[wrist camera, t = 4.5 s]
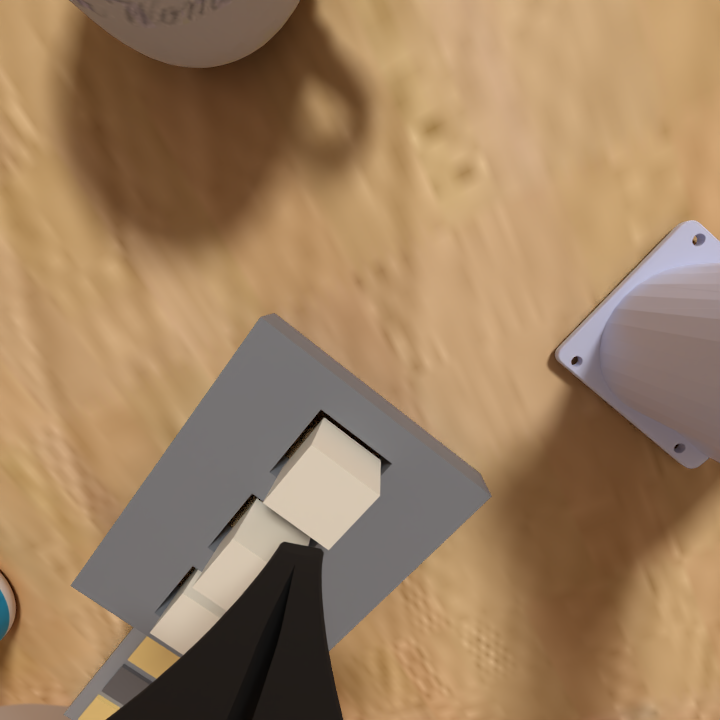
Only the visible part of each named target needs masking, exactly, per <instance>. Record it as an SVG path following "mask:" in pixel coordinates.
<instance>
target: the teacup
mask: <svg viewBox="0 0 720 720" xmlns="http://www.w3.org/2000/svg"><path fill="white" fill-rule="evenodd" d="M70 1H71V2H72V3H73V4H74V5H75V6H76V7H78V8H79V9H80V10H81V11H82V12H83V13H85V14H86V15H87V16H88V17H89V18H90V19H92V20H93V21H94V22H95V23H96V24H98V25H99V26H100V27H102V28H103V29H104V30H105V31H107V32H108V33H109V34H110V35H112V36H113V37H115V38H116V39H118V40H119V41H121V42H122V43H124V44H125V45H127V46H129V47H131V48H132V49H134V50H136V51H138V52H140V53H142V54H144V55H146V56H148V57H150V58H152V59H155V60H158V61H161V62H164V63H167V64H170V65H176V66H181V67H190V68H208V67H216V66H220V65H225V64H228V63H231V62H234V61H237V60H239V59H241V58H244V57H246V56H248V55H250V54H251V53H253V52H254V51H256V50H257V49H259V48H260V47H262V46H263V45H264V44H266V43H267V42H268V41H269V40H270V39H271V38H272V37H273V36H274V35H275V34H276V33H277V32H278V31H279V30H280V29H281V28H282V27H283V25H284V24H285V23H286V21H287V20H288V19H289V17H290V16H291V14H292V13H293V12H294V10H295V8H296V7H297V5H298V3H299V1H300V0H70Z"/></svg>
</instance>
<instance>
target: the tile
mask: <svg viewBox="0 0 720 720" xmlns="http://www.w3.org/2000/svg"><path fill="white" fill-rule="evenodd" d="M178 659H180V657H178V656H177V655H175V654H174V653H172V652H171V651H169V650H168V649H166V648H165V647H163V646H162V645H160V644H159V643H157V642H155V641H154V640H152V639H151V638H149V637H148V636H146V635H145V634H143V633H142V632H140V631H139V630H137V629H136V628H134V627H133V628H132V630H131V631H130V632H129V633H128V635H127V636H126V637H125V638H124V640H123V641H122V642H121V643H120V644H119V646H118V647H117V648H116V649H115V651H114V652H113V653H112V654H111V656H110V657H109V658H108V659H107V661H106V662H105V663H104V664H103V666H102V667H101V668H100V669H99V670H98V672H97V673H96V674H95V675H94V677H93V678H92V679H91V680H90V682H89V683H88V684H87V685H86V687H85V688H84V689H83V690H82V691H81V693H80V694H79V695H78V696H77V698H76V699H75V700H74V701H73V703H72V704H71V705H70V706H69V708H68V710H67V711H66V712H65V713H64V715H65V716H67V717H68V718H70V719H71V720H106V719H107V718H108V717H110V716H111V715H112V714H114V713H115V712H116V711H117V710H119V709H120V708H121V707H123V706H124V705H125V704H126V703H128V702H129V701H130V700H131V699H133V698H134V697H135V696H137V695H138V694H139V693H140V692H141V691H143V690H144V689H145V688H146V687H147V686H149V685H150V684H151V683H152V682H153V681H155V680H156V679H157V678H158V677H159V676H160V675H161V674H163V673H164V672H165V671H166V670H167V669H168V668H169V667H170V666H172V665H173V664H174V663H175V662H176V661H177V660H178Z"/></svg>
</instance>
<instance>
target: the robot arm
mask: <svg viewBox="0 0 720 720" xmlns="http://www.w3.org/2000/svg"><path fill="white" fill-rule="evenodd" d="M694 236H696V237H697V243H696V244H695V245H693V243H692V240H693V237H694ZM575 356H577V357H578V361H577V363H576V364H574V365H572V364H571V360H572V359H573V358H574V357H575ZM555 358H556V360H557V361H558V362H559V363H560V364H562V365H563V366H564V367H565V368H566V369H568V370H569V371H570V372H571V373H572V374H574V375H575V376H576V377H577V378H578V379H579V380H581V381H582V382H583V383H584V384H585V385H587V386H588V387H589V388H590V389H591V390H593V391H594V392H595V393H596V394H597V395H599V396H600V397H601V398H602V399H603V400H605V401H606V402H607V403H608V404H609V405H610V406H612V407H613V408H614V409H615V410H616V411H618V412H619V413H620V414H621V415H622V416H624V417H625V418H626V419H627V420H628V421H630V422H631V423H632V424H633V425H634V426H635V427H637V428H638V429H639V430H640V431H641V432H643V433H644V434H645V435H646V436H647V437H649V438H650V439H651V440H652V441H653V442H655V443H656V444H657V445H658V446H659V447H661V448H662V449H663V450H664V451H665V452H666V453H668V454H669V455H670V456H671V457H672V458H674V459H675V460H676V461H677V462H678V463H680V464H681V465H683V466H685V467H686V468H690V469H693V468H697V467H699V466H700V465H701V464H703V463H704V462H705V461H706V460H708V459H709V458H711V459H713V460H715V461H717V462H719V463H720V242H719V241H718V240H717V239H716V238H715V237H714V236H713V235H712V234H711V233H710V232H709V231H708V230H707V229H706V228H704V227H703V226H702V225H701V224H700V223H699V222H697V221H693V220H690V221H685V222H682V223H680V224H678V225H677V226H676V227H675V228H674V229H673V230H672V231H671V232H670V233H669V234H668V235H667V236H666V237H665V238H664V239H663V240H662V241H661V242H660V243H659V244H658V245H657V246H656V247H655V248H654V249H653V250H652V251H651V252H650V253H649V254H648V255H647V256H646V257H645V258H644V259H643V260H642V262H641V263H640V264H639V265H638V266H637V267H636V268H635V269H634V270H633V271H632V272H631V273H630V274H629V275H628V276H627V277H626V278H625V279H624V280H623V281H622V282H621V283H620V284H619V285H618V286H617V287H616V288H615V289H614V290H613V291H612V292H611V293H610V294H609V295H608V296H607V297H606V298H605V299H604V301H603V302H602V303H601V304H600V305H599V306H598V307H597V308H596V309H595V310H594V311H593V312H592V313H591V314H590V315H589V316H588V317H587V318H586V319H585V320H584V321H583V322H582V323H581V324H580V325H579V326H578V327H577V328H576V329H575V330H574V331H573V332H572V333H571V334H570V335H569V336H568V337H567V338H566V339H565V341H564V342H563V343H562V344H561V345H560V346H559V347H558V348H557V349H556V351H555ZM677 444H679V445H678V447H677V448H675V449H674V447H675V446H676V445H677ZM323 556H324V552H323V550H322V549H320V548H315V547H310V546H305V545H299V544H294V543H289V542H283V543H281V544H280V545H279V547H278V548H277V550H276V551H275V553H274V554H273V556H272V557H271V559H270V560H269V561H268V563H267V564H266V565H265V567H264V568H263V569H262V571H261V572H260V573H259V574H258V576H257V577H256V578H255V579H254V581H253V582H252V583H251V584H250V585H249V587H248V588H247V589H246V590H245V591H244V593H243V594H242V595H241V596H240V597H239V598H238V600H237V601H236V602H235V603H234V604H233V605H232V606H231V607H230V608H229V609H228V611H227V612H226V613H225V614H224V615H223V616H222V617H221V618H220V619H219V620H218V621H217V622H216V624H215V625H214V626H213V627H212V628H211V629H210V630H209V631H208V632H207V633H206V634H205V635H204V636H203V637H202V638H201V639H200V640H199V641H198V642H197V643H195V644H194V645H193V646H192V647H191V648H190V649H189V650H188V651H187V652H186V653H185V654H184V655H183V656H182V657H181V658H180V659H178V660H177V661H176V662H175V663H174V664H173V665H172V666H170V667H169V668H168V669H167V670H166V671H165V672H164V673H163V674H161V675H160V676H159V677H158V678H157V679H156V680H155V681H153V682H152V683H151V684H150V685H149V686H147V687H146V688H145V689H144V690H143V691H141V692H140V693H139V694H138V695H137V696H135V697H134V698H133V699H131V700H130V701H129V702H128V703H126V704H125V705H124V706H123V707H121V708H120V709H119V710H117V711H116V712H115V713H114V714H112V715H111V716H110V717H108V718H107V719H106V720H343V717H342V713H341V708H340V704H339V700H338V695H337V691H336V686H335V682H334V677H333V672H332V667H331V661H330V655H329V650H328V643H327V636H326V629H325V621H324V610H323V599H322V562H323Z"/></svg>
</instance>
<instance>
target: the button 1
mask: <svg viewBox="0 0 720 720" xmlns="http://www.w3.org/2000/svg"><path fill="white" fill-rule="evenodd" d="M201 573H202V572H201V571H199V570H198V569H195V570H194V571H193V572H192V574H191V575H190V576H189V577H188V579H187V580H186V581H185V582H184V583H183V585H182V586H181V587H180V589H179V590H178V592H177V593H176V595H175V596H174V598H173V599H172V600H171V602H170V603H169V605H168V606H167V608H166V609H165V611H164V612H163V614H162V615H161V617H160V618H159V620H158V621H157V623H156V624H155V626H154V627H153V629H152V630H151V632H150V633H151V634H152V635H154V636H155V637H157V638H158V639H160V640H161V641H163V642H164V643H166V644H167V645H169V646H170V647H172V648H173V649H175V650H176V651H178V652H179V653H181V654H183V655H184V654H185V653H186V652H187V651H188V650H189V649H190V648H191V647H192V646H193V645H194V644H195V643H197V642H198V641H199V640H200V639H201V638H202V637H203V636H204V635H205V634H206V633H207V632H208V631H209V630H210V629H211V628H212V627H213V626H214V625H215V624H216V622H217V621H218V620H219V619H220V618H221V617H222V616H223V615H224V614H225V613H226V612H227V611H226V610H224V609H223V608H221V607H220V606H218V605H217V604H215V603H214V602H212V601H211V600H210V599H208V598H207V597H205V596H204V595H202V594H201V593H199V592H198V591H196V590H195V589H193V588H192V587H193V585H194V584H195V582H196V580H197V579H198V577H199V576H200V574H201Z"/></svg>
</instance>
